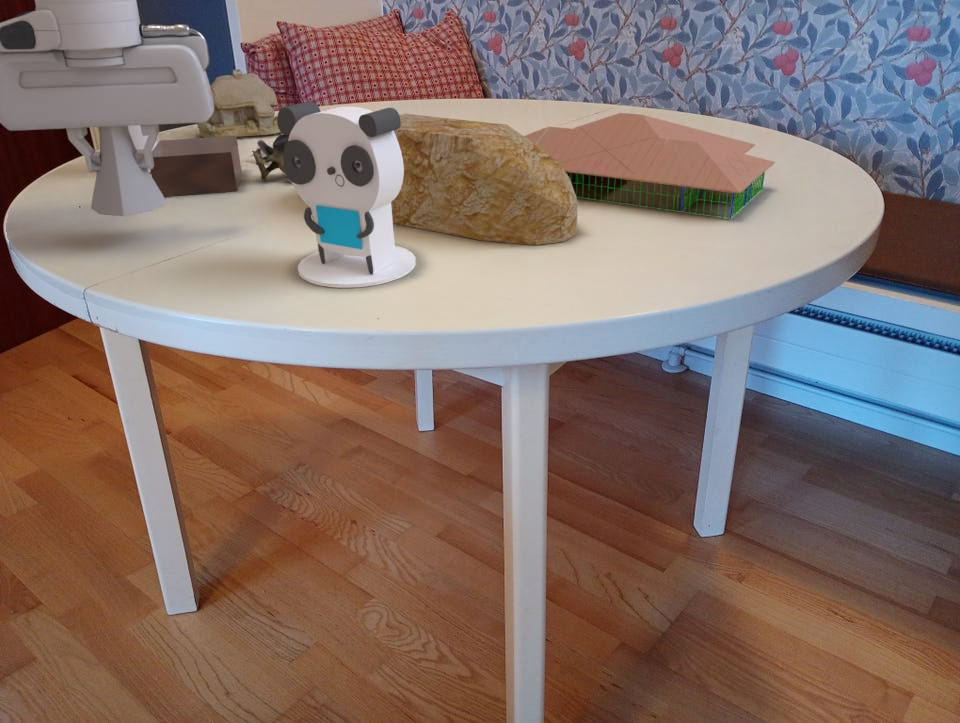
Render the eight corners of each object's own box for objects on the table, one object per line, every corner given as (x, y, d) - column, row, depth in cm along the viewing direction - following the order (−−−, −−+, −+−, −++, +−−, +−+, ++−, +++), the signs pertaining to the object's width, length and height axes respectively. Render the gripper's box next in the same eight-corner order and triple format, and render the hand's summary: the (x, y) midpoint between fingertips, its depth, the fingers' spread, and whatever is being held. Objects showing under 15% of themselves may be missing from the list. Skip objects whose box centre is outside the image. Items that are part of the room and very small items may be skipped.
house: (558, 148, 122) (559, 91, 118) (787, 173, 106) (796, 108, 102) (477, 185, 104) (475, 120, 101) (736, 222, 89) (745, 146, 85)
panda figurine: (268, 273, 79) (243, 112, 72) (344, 238, 87) (329, 92, 80) (366, 296, 73) (350, 124, 66) (438, 257, 81) (430, 101, 75)
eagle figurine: (263, 183, 104) (331, 162, 105) (244, 130, 104) (312, 111, 106) (268, 200, 111) (332, 181, 113) (251, 151, 111) (315, 133, 113)
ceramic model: (274, 122, 145) (266, 62, 140) (296, 133, 136) (288, 69, 131) (194, 132, 138) (182, 70, 134) (211, 144, 130) (200, 78, 125)
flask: (122, 222, 83) (100, 121, 78) (78, 211, 86) (55, 113, 81) (180, 204, 88) (163, 109, 83) (136, 194, 91) (118, 102, 87)
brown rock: (594, 223, 90) (598, 130, 85) (545, 252, 82) (546, 152, 77) (348, 181, 108) (340, 103, 103) (288, 202, 100) (277, 118, 95)
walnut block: (155, 197, 103) (147, 157, 101) (166, 177, 112) (159, 140, 110) (237, 191, 105) (231, 151, 103) (242, 172, 114) (236, 135, 111)
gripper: (207, 20, 83) (227, 157, 90) (-11, 25, 80) (26, 167, 86) (201, 26, 78) (222, 171, 84) (-34, 32, 74) (7, 182, 81)
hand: (121, 169), depth 85 cm, fingers closed on flask, 3 cm apart
